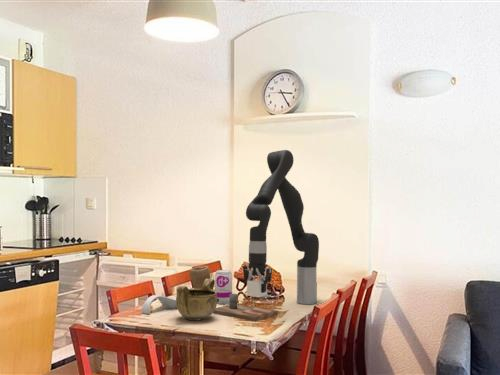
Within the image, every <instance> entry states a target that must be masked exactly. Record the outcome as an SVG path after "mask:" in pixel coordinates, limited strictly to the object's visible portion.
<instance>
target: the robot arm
mask: <svg viewBox="0 0 500 375" xmlns="http://www.w3.org/2000/svg"><path fill="white" fill-rule="evenodd" d="M266 161H267V162H266V163H267V166H268V169H269V172H270V174H271V175H270V176H269V177H267V178H266V180H264V182H263V183H262V184H261V187H260V189H259V191H258V193H257V195H256V196H255V197H254V198H253V199H252V200H251V202H249V203H248V205H247V207H246V209H245V211H246V212H245V216H246V219H247V220H249V221H252V222H253V221H254V222H259V223H258V225H257V226H256V225H255V226H251V228H249V244H248V263H249V264H248V265H243V266H242V272H243V280H245V281H246V282H247V281H250V280H255V279H254V278H255V277H256V276H257V277H258V280H261V283H262V284H261V293H265V291H266V284H267V285H268V283H271V280H272V274H273V268H272V267H267V265H266V263H267V252H268V251H267V250H268V249H267V230H268V227H269V224H270V219H271V215H272V211H271V208H270V205H271V204H272V202H273V200H274V198H275V195H276V193H277V192H278V194H279V197H280V200H281V203H282V207H283V209H284V212H285V214H286V215H285V216H286V218H287V222H288V224H289V228H290V233H291V237H292V238H291V239H292V241H293V245H294V248H295V249H296V251H299V252H301V253H302V252H303V257H302V258H300V259H298V260H297V261H296V262H297V263H296V264H297V265H296V303H297V304H299V305H314V304H316V303H317V302H318V281H317V268H318V267H317V266H318V265H317V264H318V261H319V251H320V240H319V237H318V235H317V234H315V233H312V232H306V231H305V230H304V227H303V222H302V218H303V215H304V209H305V208H304V207H305V206H304V202H303V199H302V195H301V193H300V192H299V191H298V189H297V188H296V187H295V186H294V185H293V184H292V183H291V182H290V181H288V179H287V178H286V177H287V175H288V174H289V172H290V171H291V169H292V167H293V165H294V155H293V153H292V152H291V151H290V150H288V149H283V150H276V151H271V152H269V153H268V154H267V157H266Z"/></svg>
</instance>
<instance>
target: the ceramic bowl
mask: <svg viewBox="0 0 500 375" xmlns="http://www.w3.org/2000/svg"><path fill="white" fill-rule="evenodd" d="M214 289H215V278H214V279H213V278H210V279H205V281H204V284H203V287H202V288H201V289H194V288H188V286H186V285H178V286H177V288H176V296H175V298H176V305H177V308H176V309H177V311H178V313H179V314H180V315H181V316H182V317H183V318H185V319H187V320H190V321H202V320H204V319H207V318H209V317H210V316H211V315H213V314H214V313H213V312H214V311H215V309H216V308H217V305H218V304H217V292H216V291H213V290H214Z"/></svg>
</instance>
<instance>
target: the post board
mask: <svg viewBox="0 0 500 375" xmlns="http://www.w3.org/2000/svg"><path fill="white" fill-rule="evenodd" d="M212 314H214V315H215V314H216V315H220V316H224V317H231V318H236V319H241V320H247V321H251V322H257V321H261V320H265V319H267V318H268V319H269V318H270V317H271V318H272V317H275V316H277V315H279V311H278V310H274V309H267V308H262V307H256V306H249V305H244V304H238V294H237V293H232V294H230V304H226V305H223V306H219V307H216V309H215V311H214V312H213V313H212Z"/></svg>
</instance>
